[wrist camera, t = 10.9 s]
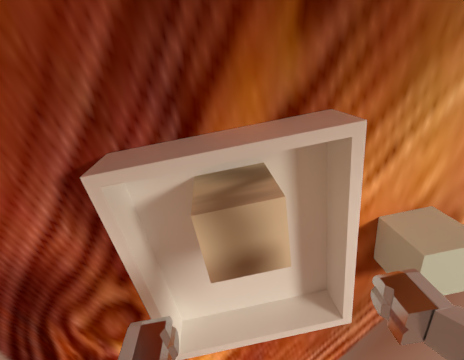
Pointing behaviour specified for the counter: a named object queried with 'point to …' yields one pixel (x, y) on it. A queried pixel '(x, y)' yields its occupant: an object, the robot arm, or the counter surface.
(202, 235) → the maple block
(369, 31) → the counter surface
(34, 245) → the counter surface
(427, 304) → the robot arm
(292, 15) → the counter surface
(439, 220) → the sage block
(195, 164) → the tray
